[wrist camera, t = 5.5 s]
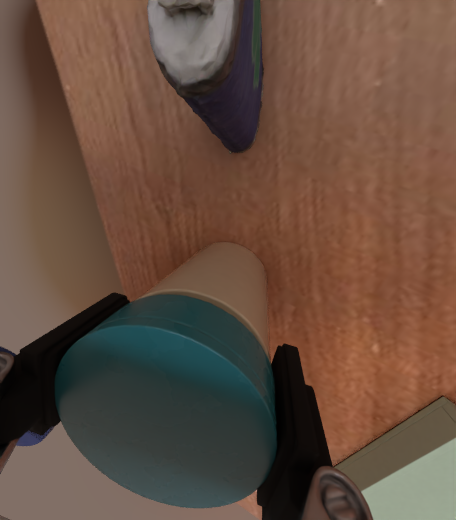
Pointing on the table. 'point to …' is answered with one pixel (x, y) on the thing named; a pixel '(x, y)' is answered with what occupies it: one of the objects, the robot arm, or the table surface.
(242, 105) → the flask
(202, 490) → the lid
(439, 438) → the tray
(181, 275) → the jar
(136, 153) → the table surface
